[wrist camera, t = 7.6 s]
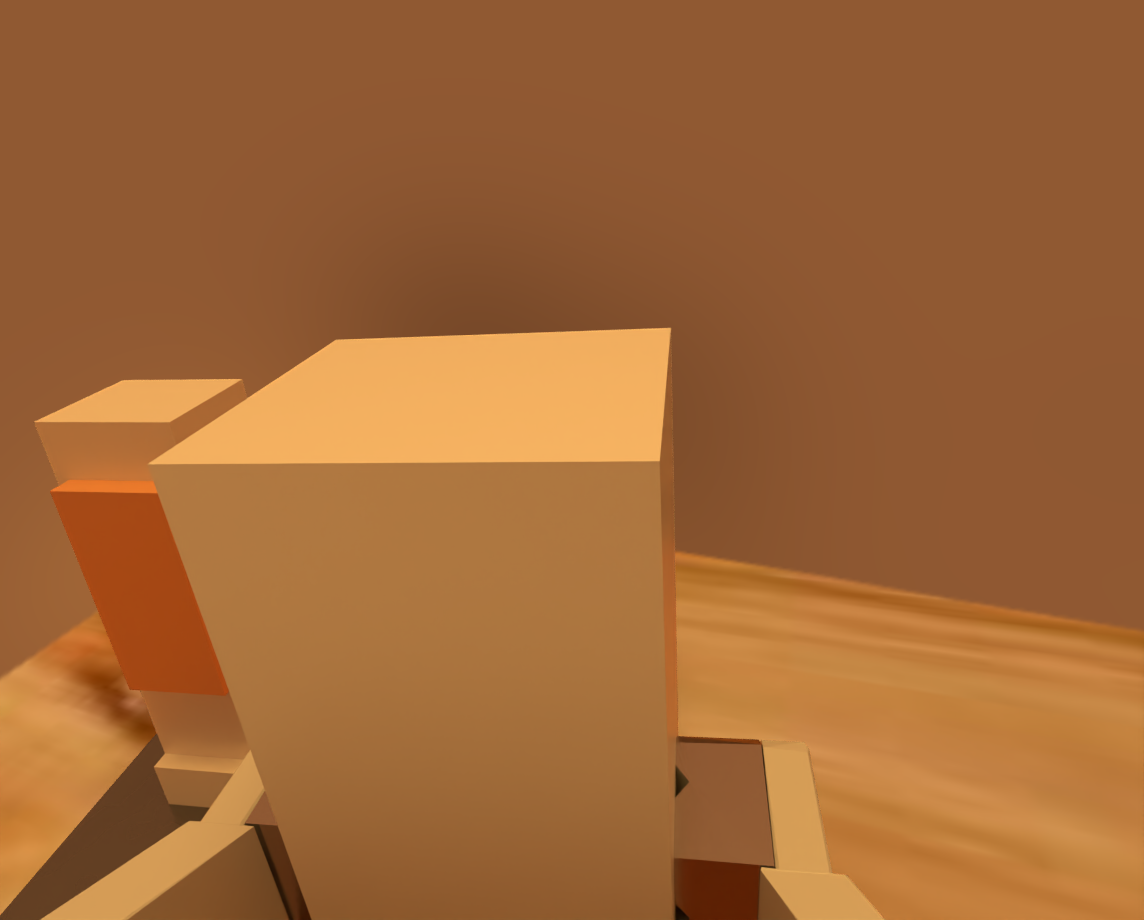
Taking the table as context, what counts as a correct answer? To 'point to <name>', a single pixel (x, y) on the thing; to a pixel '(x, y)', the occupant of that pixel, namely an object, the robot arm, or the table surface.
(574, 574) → the beige tall square block
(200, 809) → the rail
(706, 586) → the table surface
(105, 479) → the post
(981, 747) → the table surface
